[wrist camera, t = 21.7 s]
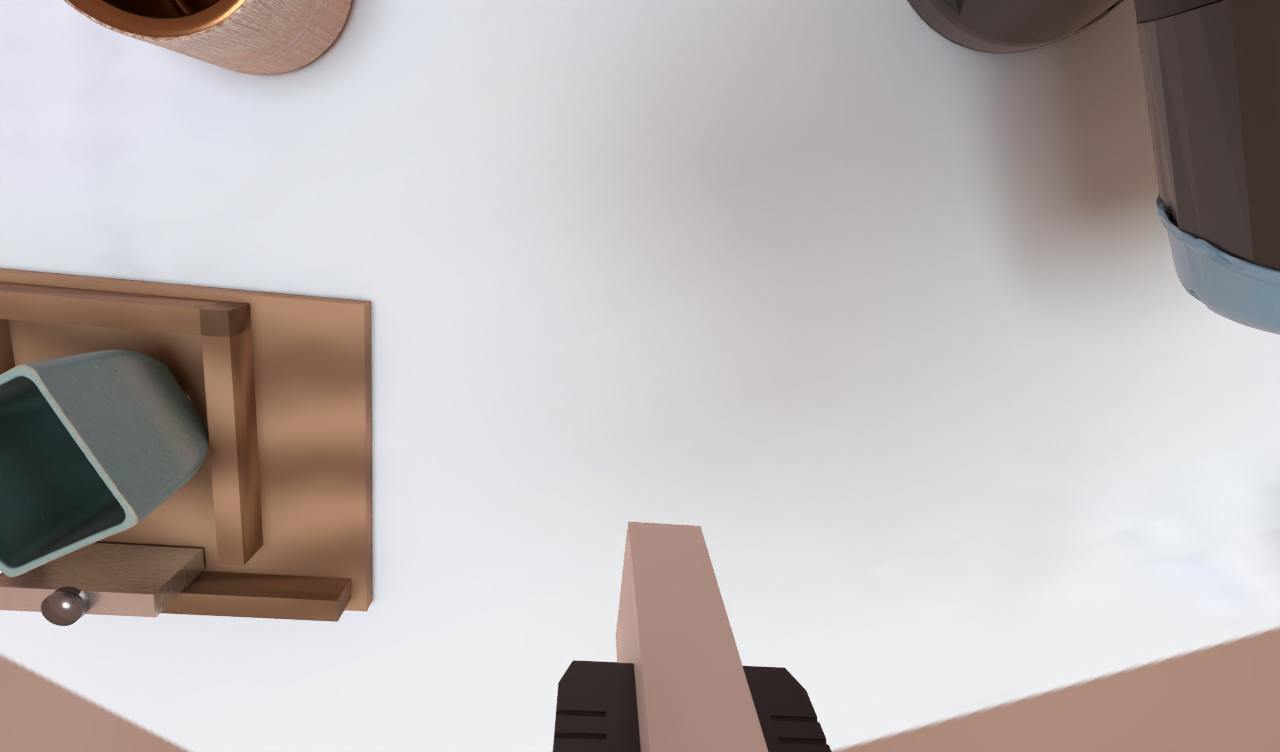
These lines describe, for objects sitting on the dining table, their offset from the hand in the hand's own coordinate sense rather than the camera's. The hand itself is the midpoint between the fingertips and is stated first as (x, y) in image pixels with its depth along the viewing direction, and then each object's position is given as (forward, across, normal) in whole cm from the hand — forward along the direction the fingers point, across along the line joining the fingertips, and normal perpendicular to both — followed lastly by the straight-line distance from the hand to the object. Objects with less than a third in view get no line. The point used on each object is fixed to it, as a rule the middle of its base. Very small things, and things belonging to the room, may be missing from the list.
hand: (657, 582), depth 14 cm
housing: (+29, -26, -11) cm, 41 cm away
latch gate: (+28, -30, -18) cm, 44 cm away
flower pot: (+28, -27, -8) cm, 40 cm away
